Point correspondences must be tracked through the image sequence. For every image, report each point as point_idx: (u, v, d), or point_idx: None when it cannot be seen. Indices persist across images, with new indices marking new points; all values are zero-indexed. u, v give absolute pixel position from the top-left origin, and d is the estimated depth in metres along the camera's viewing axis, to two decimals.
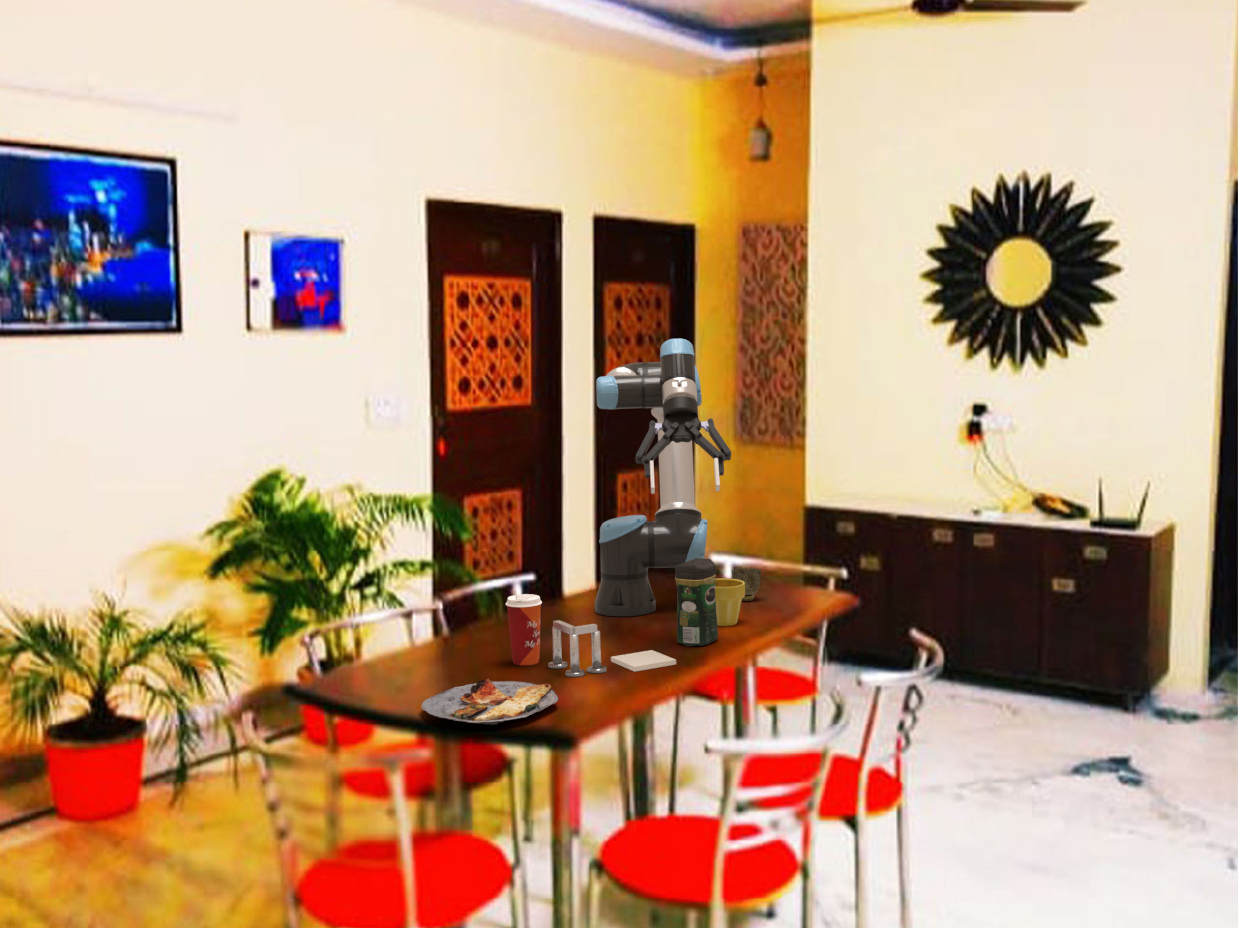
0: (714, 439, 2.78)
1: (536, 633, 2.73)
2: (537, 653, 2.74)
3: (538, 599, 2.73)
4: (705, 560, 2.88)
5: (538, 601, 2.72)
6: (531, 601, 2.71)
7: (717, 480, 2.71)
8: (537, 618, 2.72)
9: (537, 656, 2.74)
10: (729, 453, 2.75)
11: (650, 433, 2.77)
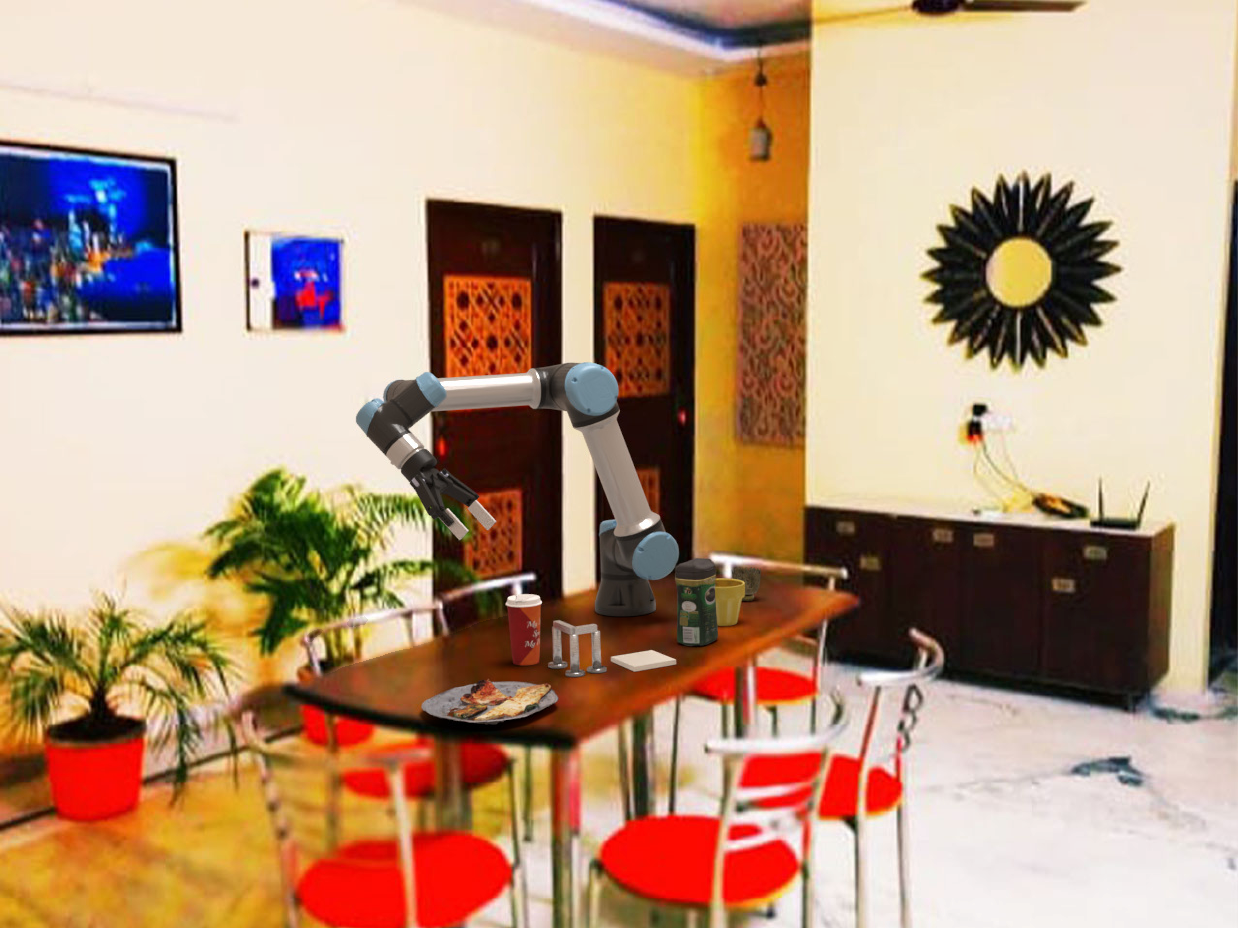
0: None
1: (536, 633, 2.73)
2: (537, 653, 2.74)
3: (538, 599, 2.73)
4: (705, 560, 2.88)
5: (538, 601, 2.72)
6: (531, 601, 2.71)
7: None
8: (537, 618, 2.72)
9: (537, 656, 2.74)
10: None
11: None
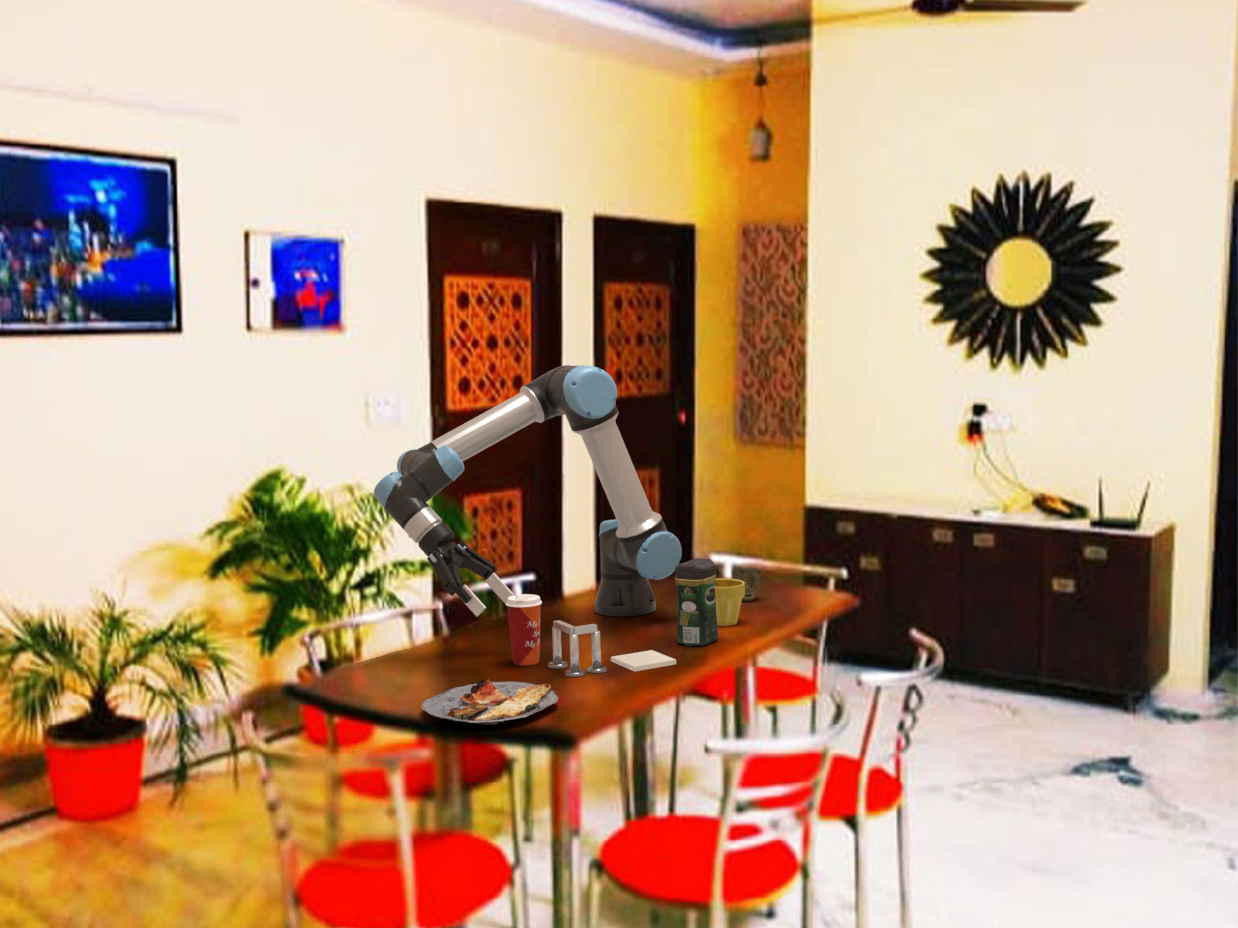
0: None
1: (536, 633, 2.73)
2: (537, 653, 2.74)
3: (538, 599, 2.73)
4: (705, 560, 2.88)
5: (538, 601, 2.72)
6: (531, 601, 2.71)
7: None
8: (537, 618, 2.72)
9: (537, 656, 2.74)
10: (447, 592, 2.68)
11: None
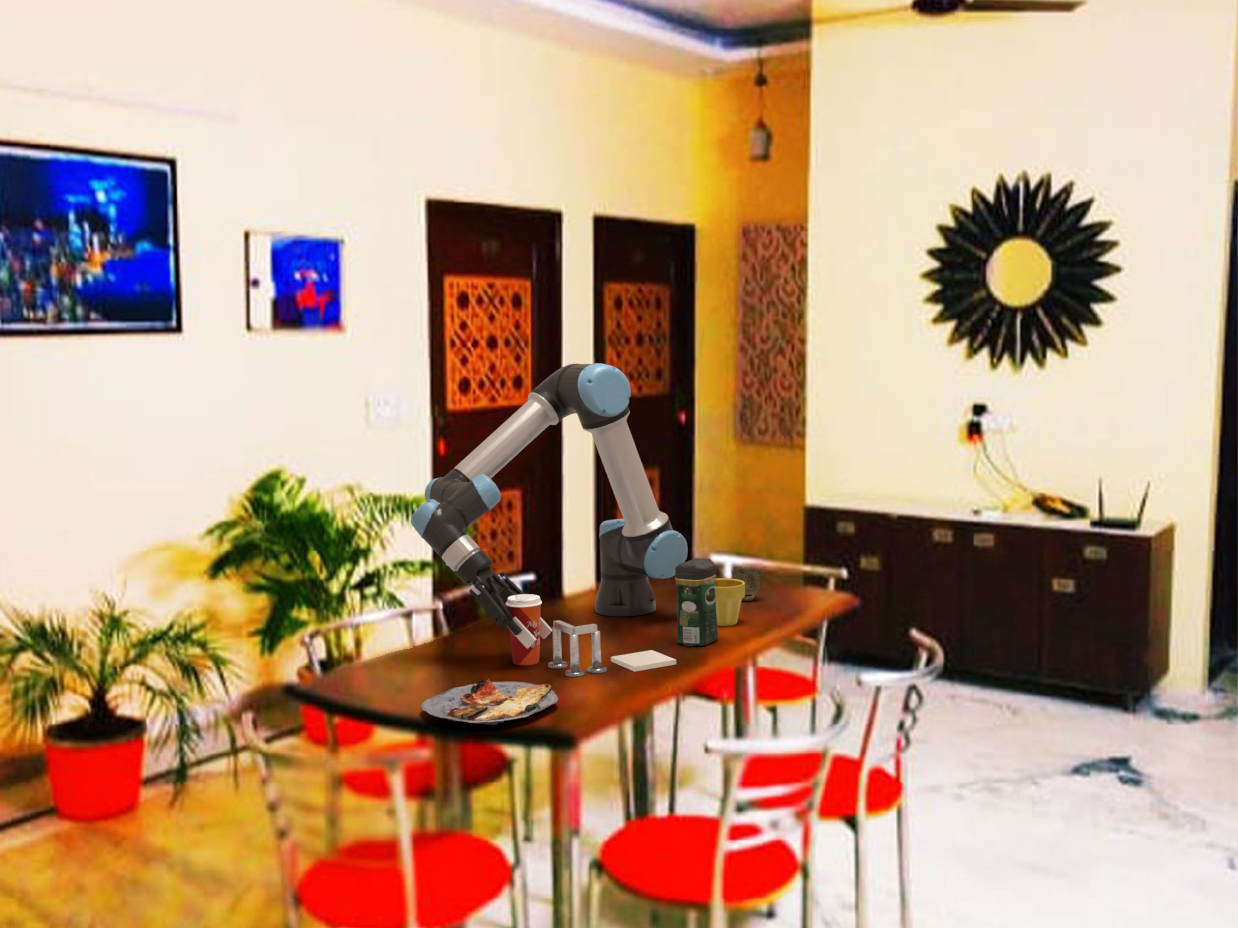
0: None
1: (536, 633, 2.73)
2: (537, 653, 2.74)
3: (538, 599, 2.73)
4: (705, 560, 2.88)
5: (538, 601, 2.72)
6: (531, 601, 2.71)
7: None
8: (537, 618, 2.72)
9: (537, 656, 2.74)
10: None
11: None
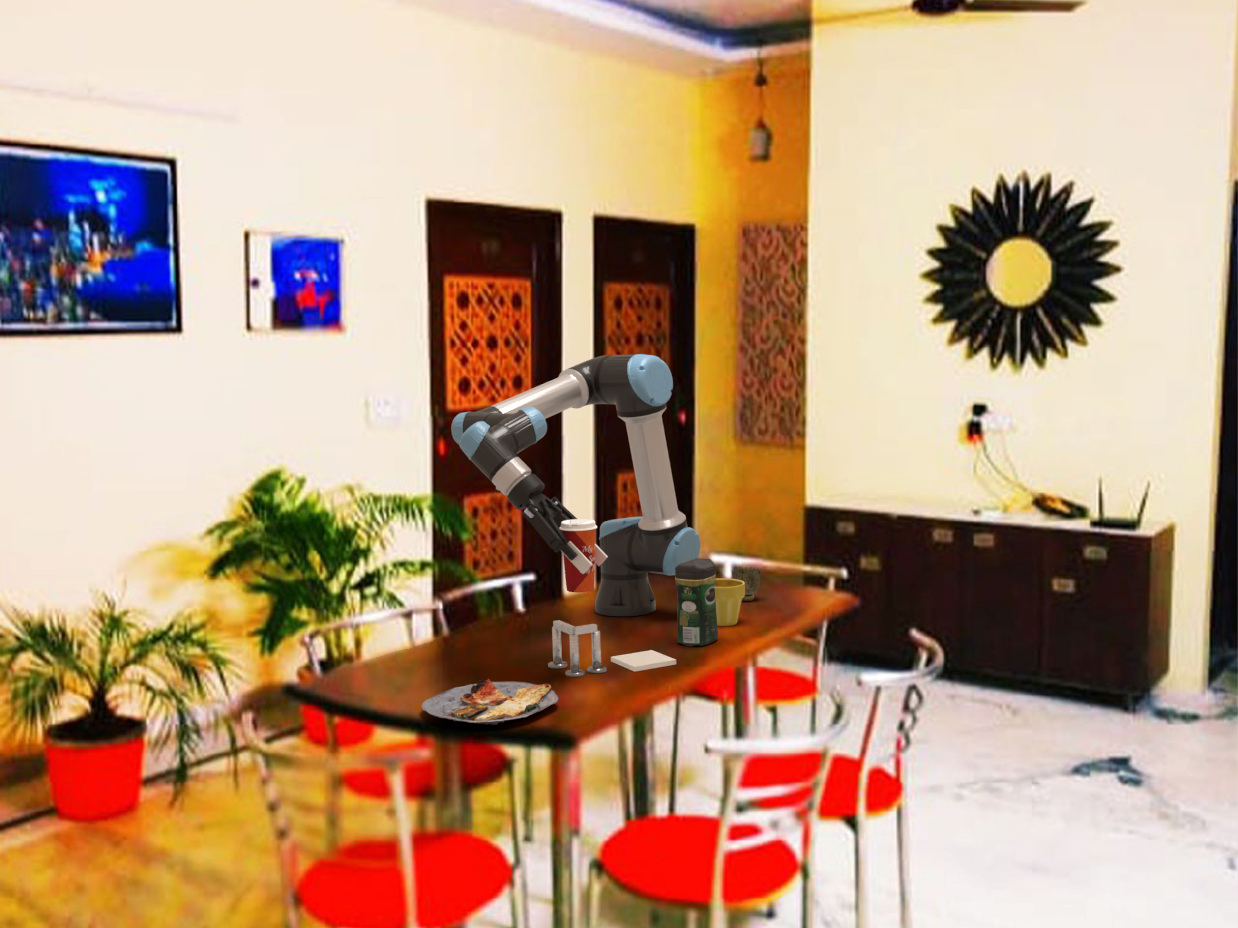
0: None
1: (591, 559, 2.60)
2: (592, 580, 2.61)
3: (593, 523, 2.60)
4: (705, 560, 2.88)
5: (593, 525, 2.60)
6: (586, 525, 2.59)
7: None
8: (592, 543, 2.60)
9: (592, 583, 2.62)
10: None
11: None
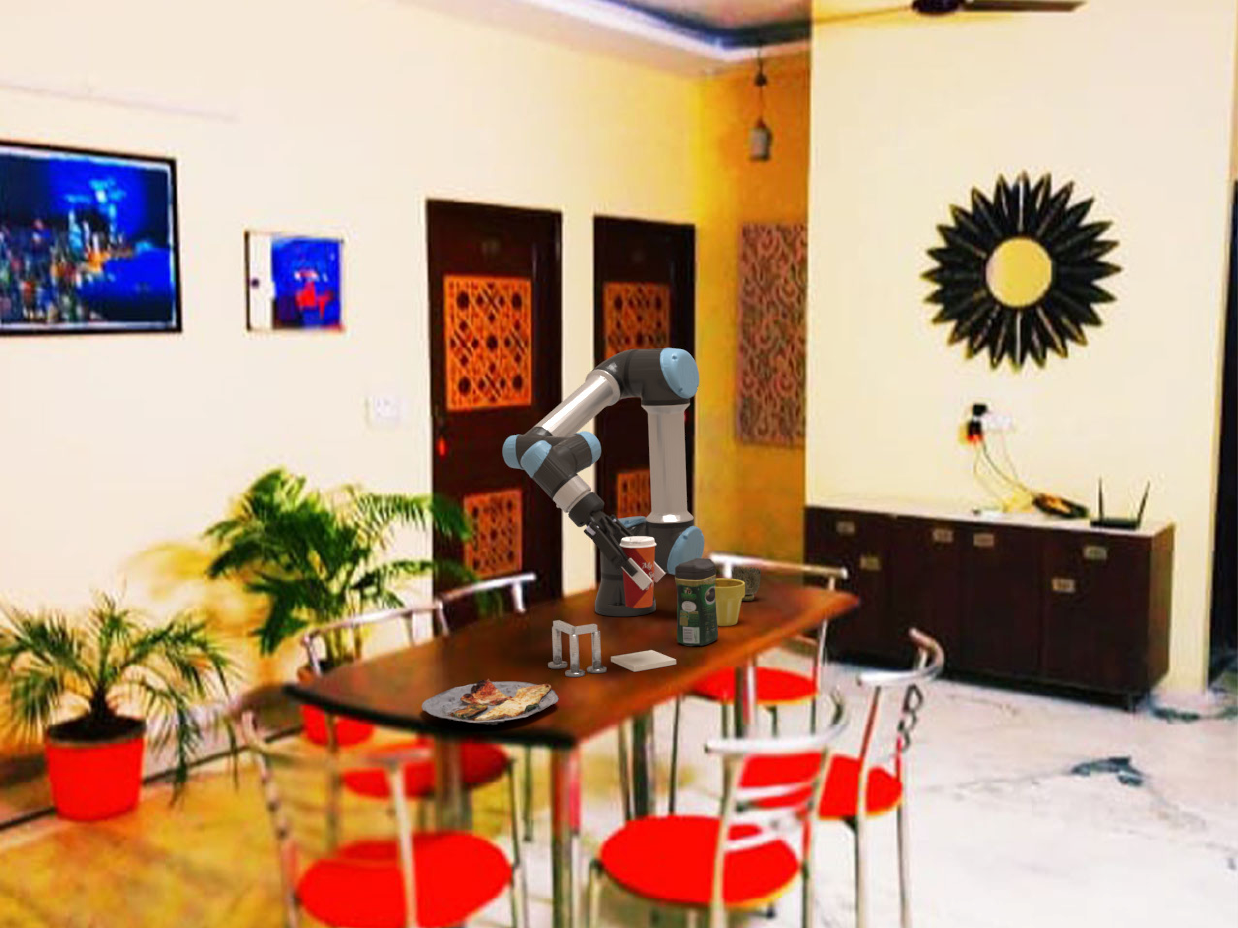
0: None
1: (651, 575, 2.67)
2: (651, 596, 2.68)
3: (653, 540, 2.67)
4: (705, 560, 2.88)
5: (653, 542, 2.67)
6: (646, 542, 2.66)
7: None
8: (652, 560, 2.67)
9: (651, 599, 2.68)
10: None
11: None
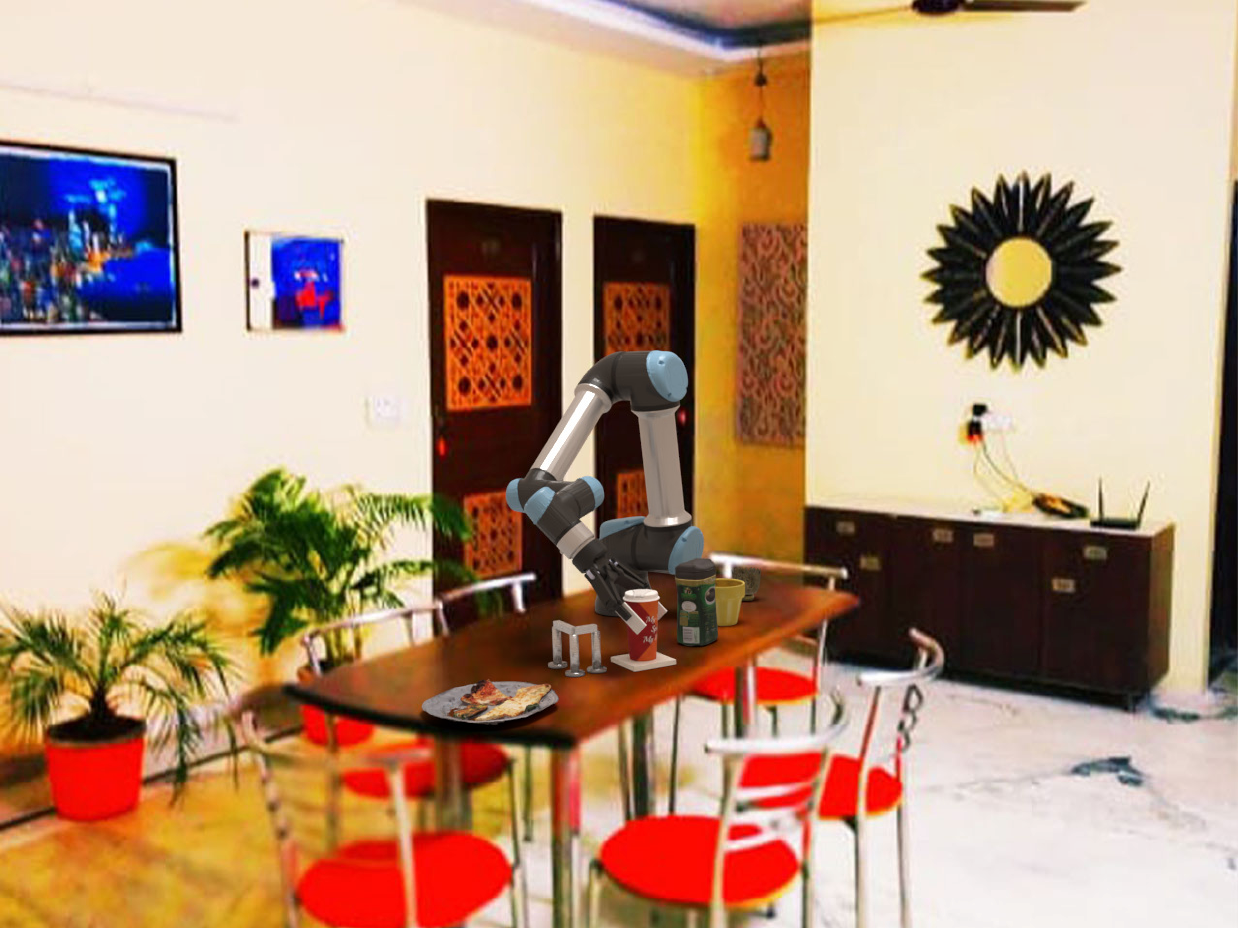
0: None
1: (654, 629, 2.69)
2: (655, 649, 2.70)
3: (656, 594, 2.69)
4: (705, 560, 2.88)
5: (656, 596, 2.69)
6: (650, 596, 2.67)
7: None
8: (655, 613, 2.69)
9: (655, 652, 2.70)
10: (607, 609, 2.63)
11: None
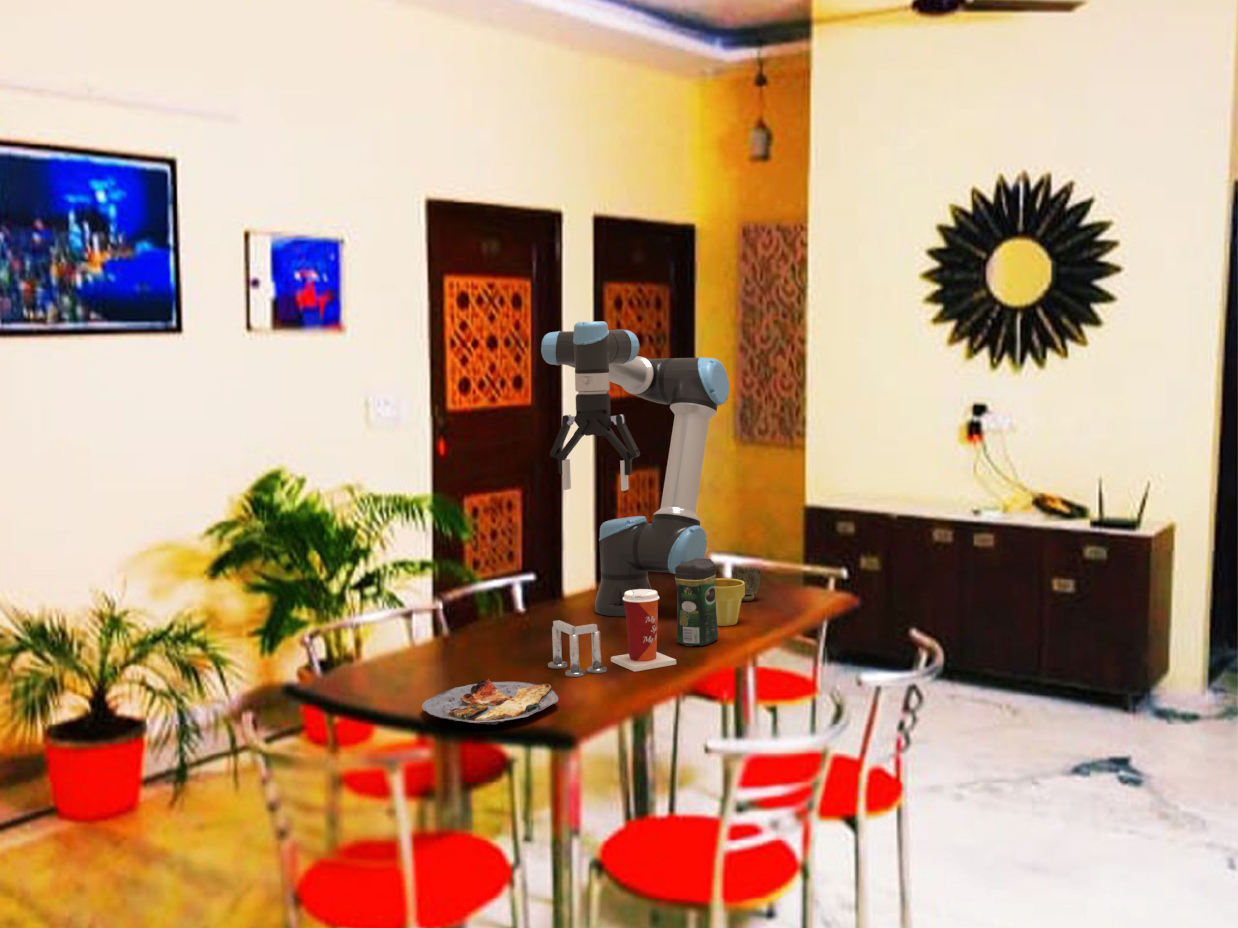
0: None
1: (654, 629, 2.69)
2: (655, 649, 2.70)
3: (656, 594, 2.69)
4: (705, 560, 2.88)
5: (656, 596, 2.69)
6: (649, 596, 2.67)
7: (622, 485, 2.81)
8: (655, 613, 2.69)
9: (655, 652, 2.70)
10: (634, 456, 2.80)
11: (563, 429, 2.85)
